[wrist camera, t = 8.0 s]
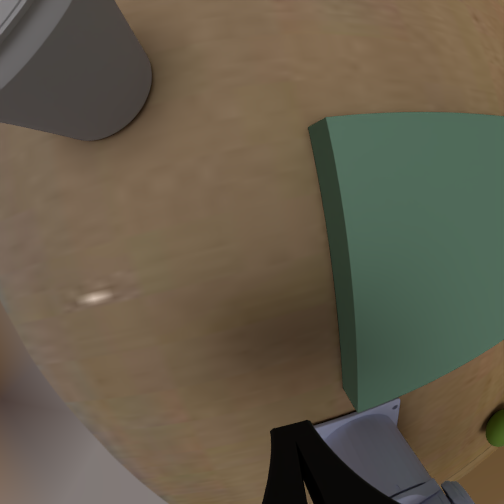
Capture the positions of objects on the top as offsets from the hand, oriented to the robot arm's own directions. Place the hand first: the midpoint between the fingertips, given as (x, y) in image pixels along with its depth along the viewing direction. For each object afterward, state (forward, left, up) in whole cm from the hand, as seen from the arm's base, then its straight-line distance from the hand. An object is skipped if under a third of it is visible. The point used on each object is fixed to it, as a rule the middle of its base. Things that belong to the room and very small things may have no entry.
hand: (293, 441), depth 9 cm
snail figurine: (-26, -28, -10) cm, 39 cm away
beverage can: (+16, +6, -10) cm, 20 cm away
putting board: (+2, -17, -9) cm, 20 cm away
